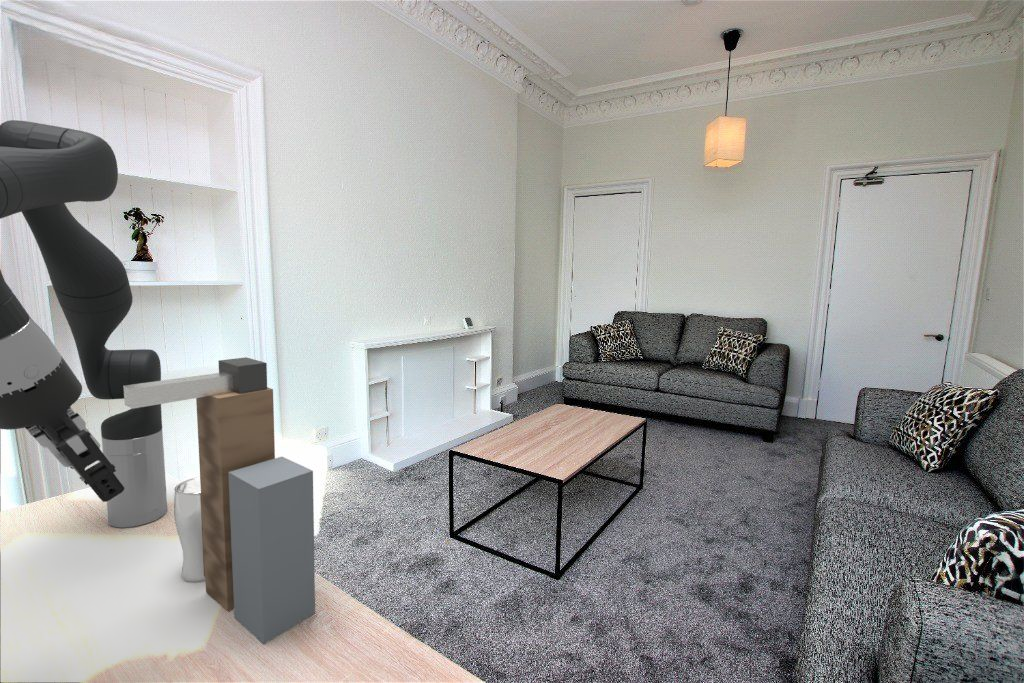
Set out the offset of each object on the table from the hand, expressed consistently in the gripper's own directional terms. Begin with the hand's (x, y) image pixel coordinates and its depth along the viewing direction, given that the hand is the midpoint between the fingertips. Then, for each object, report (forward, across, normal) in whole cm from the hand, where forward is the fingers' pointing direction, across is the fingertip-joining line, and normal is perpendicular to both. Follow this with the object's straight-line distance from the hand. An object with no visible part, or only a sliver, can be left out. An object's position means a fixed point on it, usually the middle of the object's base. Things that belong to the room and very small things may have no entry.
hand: (97, 478), depth 56 cm
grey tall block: (+28, +13, +5) cm, 31 cm away
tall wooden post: (+30, +3, +5) cm, 30 cm away
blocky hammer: (-1, -3, +14) cm, 15 cm away
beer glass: (+31, -6, +4) cm, 32 cm away
